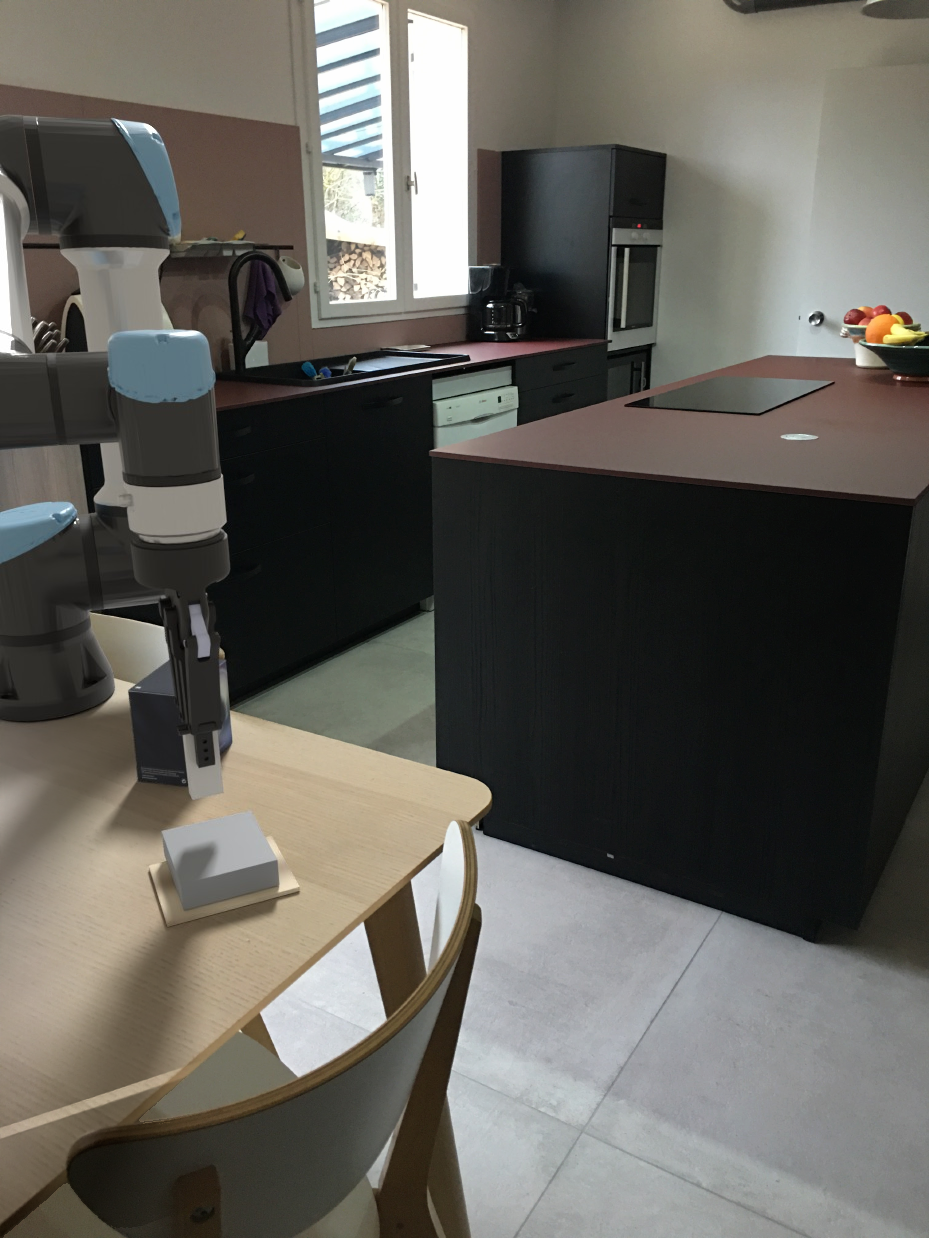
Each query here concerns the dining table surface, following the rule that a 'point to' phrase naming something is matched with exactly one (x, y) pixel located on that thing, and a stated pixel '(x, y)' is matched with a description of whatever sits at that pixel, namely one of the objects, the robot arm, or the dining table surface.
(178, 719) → the small box
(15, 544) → the robot arm
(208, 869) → the grey square slab
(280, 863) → the cork mat
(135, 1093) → the dining table surface
